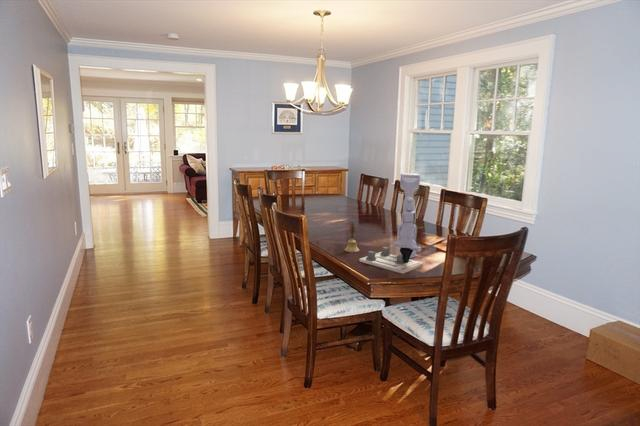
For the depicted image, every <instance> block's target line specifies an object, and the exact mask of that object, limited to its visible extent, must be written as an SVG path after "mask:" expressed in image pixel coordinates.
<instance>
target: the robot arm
mask: <svg viewBox="0 0 640 426" xmlns="http://www.w3.org/2000/svg"><path fill="white" fill-rule="evenodd" d="M420 180H421V175H420V173H402V172H401V173H400V180H399V182H400V183H399V187H400V190H403V192H404V199H403V202H402V212H401V222H400V223H398V225H397V233H396V234H397V235H396V239H397V240H399V241H393V243H392V246H393V247H398V254H396V255H395V254H394V255H395V256H397V255H399V254H401V255H402V257H403V261H404V263H408V261H409V259H410V260H411V259H413V258H416V257H418V254H417V252H418V253H419V252H421V251H422V247H421V246H419V245H417V242H416V239H417V225H416V224H415V223H416V220H417V217H416V215H417V213H416V199H414V193H415V191H417V190H419V188H420V183H421V181H420Z"/></svg>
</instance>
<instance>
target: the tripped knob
mask: <svg viewBox="0 0 640 426" xmlns="http://www.w3.org/2000/svg"><path fill="white" fill-rule="evenodd" d="M398 254H399V253H398ZM398 254H396V255H397V261H395V263H398V264H404V261H403V257H402V255H401V254H399V255H398Z"/></svg>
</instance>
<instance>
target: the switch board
mask: <svg viewBox="0 0 640 426" xmlns="http://www.w3.org/2000/svg"><path fill="white" fill-rule="evenodd" d="M380 253H382V251H380V252H375V257H376V260H372V261H370V260H367V259H366V258H367V256H363V257H360V258H359V262H360V263H363V264H367V265H371V266H374V267H378V268H382V269H384V270H388V271H391V272H396V273H399V274H402V275H403V274H405V273H408V272H411V271H415V270H416V269H419V268H421V267H423V266H424V262H421V261H417V260H413V259H411V258H410V259H409V261H408V263H404V264H398V263H395V261H397V256H395V254H391V253H390V255H388V256H383V255H380Z"/></svg>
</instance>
